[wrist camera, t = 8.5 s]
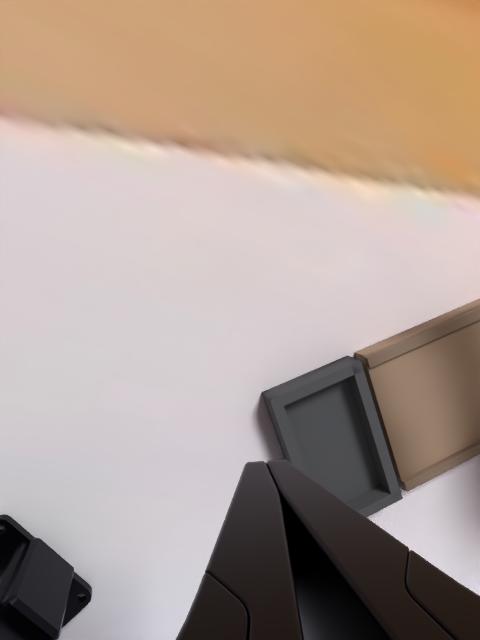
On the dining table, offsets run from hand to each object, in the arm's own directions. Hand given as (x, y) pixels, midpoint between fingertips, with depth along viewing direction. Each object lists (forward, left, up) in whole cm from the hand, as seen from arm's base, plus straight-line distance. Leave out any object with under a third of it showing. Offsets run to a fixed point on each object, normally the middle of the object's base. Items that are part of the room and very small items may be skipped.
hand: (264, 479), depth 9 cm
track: (+17, -14, -14) cm, 26 cm away
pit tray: (+3, -9, -14) cm, 17 cm away
